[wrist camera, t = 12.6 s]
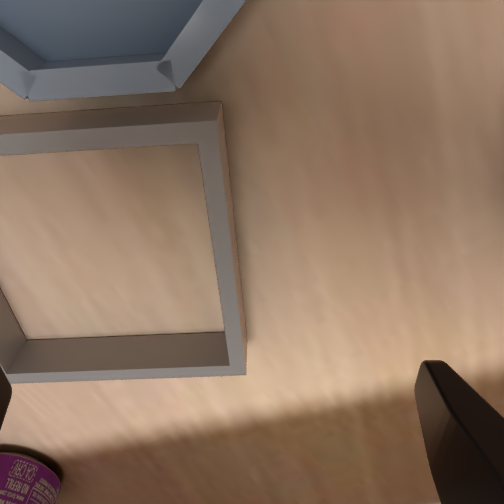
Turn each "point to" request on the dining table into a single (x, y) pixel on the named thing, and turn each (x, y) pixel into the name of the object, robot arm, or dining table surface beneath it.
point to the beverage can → (26, 480)
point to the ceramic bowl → (105, 45)
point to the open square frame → (222, 234)
